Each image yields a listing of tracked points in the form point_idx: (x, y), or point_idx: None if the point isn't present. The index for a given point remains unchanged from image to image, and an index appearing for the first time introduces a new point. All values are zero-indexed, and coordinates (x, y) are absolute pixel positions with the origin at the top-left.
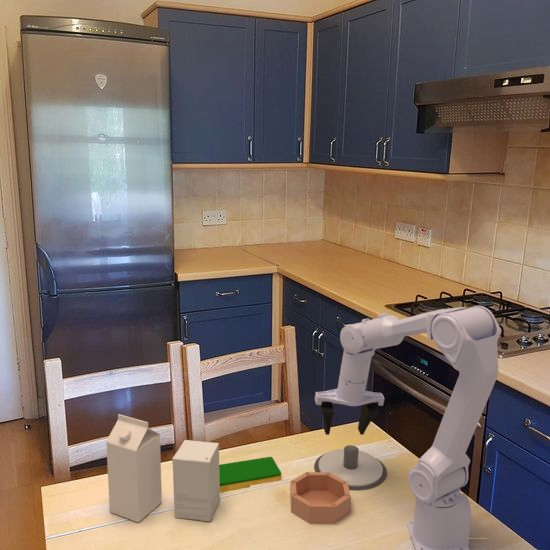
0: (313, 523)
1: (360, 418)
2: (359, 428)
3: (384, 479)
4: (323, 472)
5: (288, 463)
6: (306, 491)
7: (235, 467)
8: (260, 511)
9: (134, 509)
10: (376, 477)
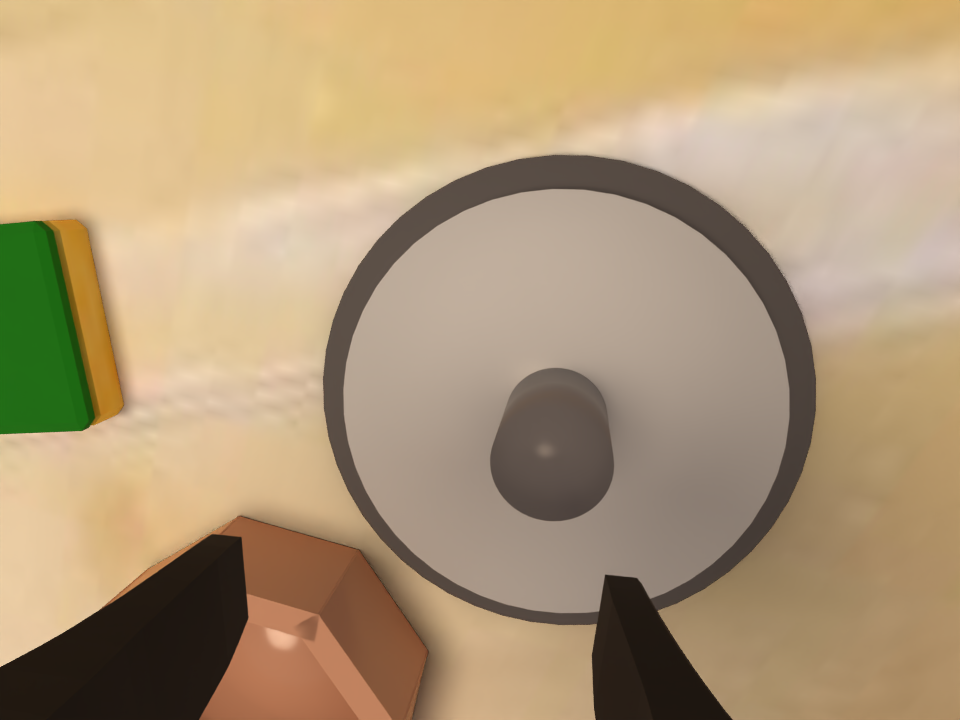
0: None
1: (632, 689)
2: (602, 636)
3: (724, 569)
4: (282, 607)
5: (187, 235)
6: None
7: None
8: (8, 613)
9: None
10: (668, 580)
